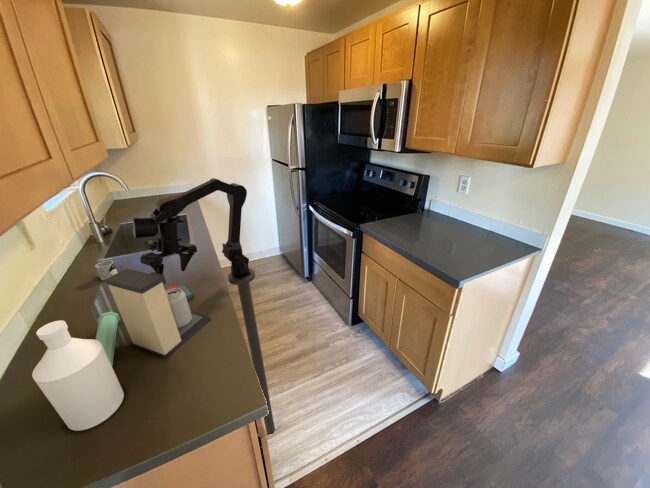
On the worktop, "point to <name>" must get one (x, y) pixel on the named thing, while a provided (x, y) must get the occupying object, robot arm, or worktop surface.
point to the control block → (186, 292)
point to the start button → (173, 287)
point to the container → (108, 333)
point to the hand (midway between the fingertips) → (172, 275)
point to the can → (179, 306)
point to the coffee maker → (150, 312)
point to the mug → (106, 269)
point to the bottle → (77, 378)
